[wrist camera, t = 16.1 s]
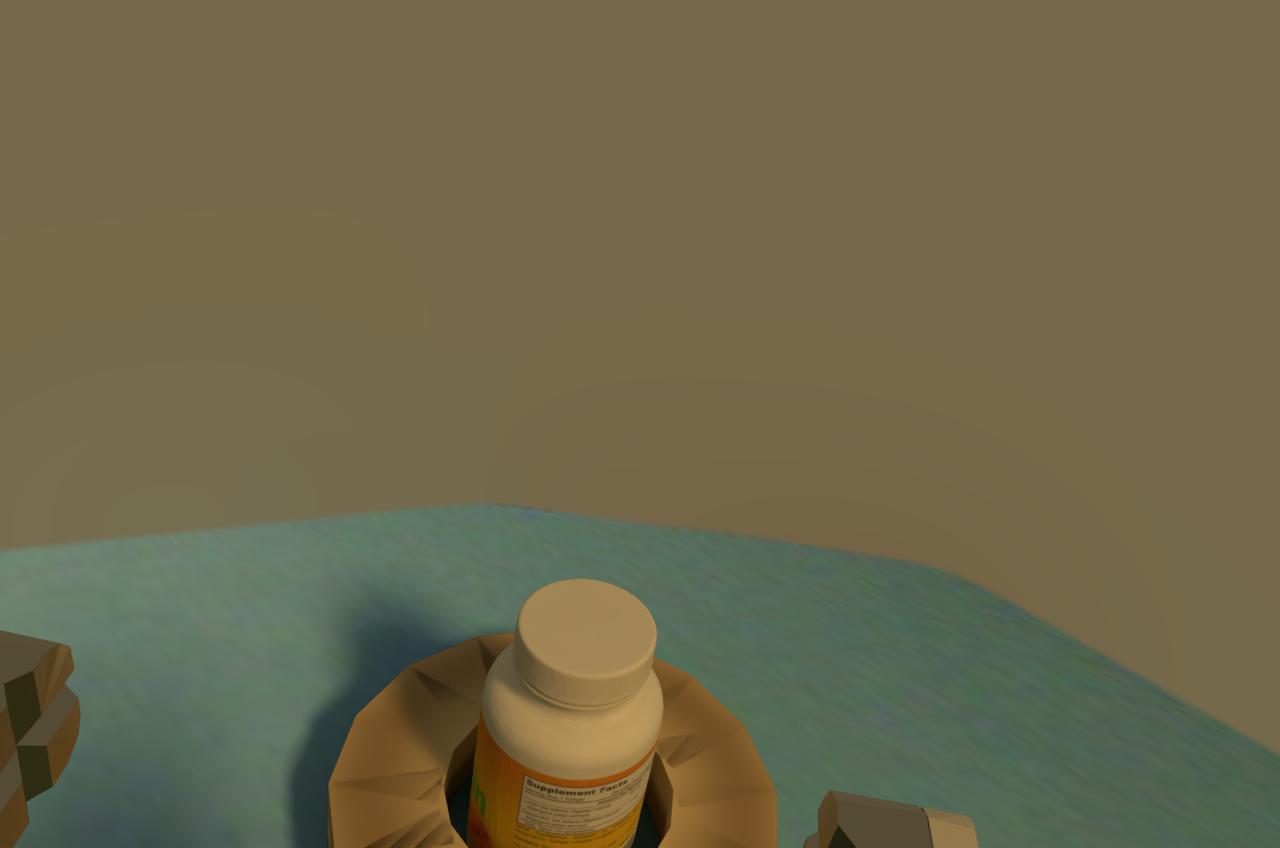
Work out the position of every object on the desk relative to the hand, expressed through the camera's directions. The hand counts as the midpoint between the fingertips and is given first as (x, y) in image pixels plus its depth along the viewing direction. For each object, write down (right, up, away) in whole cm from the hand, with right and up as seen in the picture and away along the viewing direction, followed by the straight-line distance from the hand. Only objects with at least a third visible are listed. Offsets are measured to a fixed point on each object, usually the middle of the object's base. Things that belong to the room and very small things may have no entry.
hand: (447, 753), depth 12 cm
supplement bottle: (-1, -10, +25) cm, 27 cm away
